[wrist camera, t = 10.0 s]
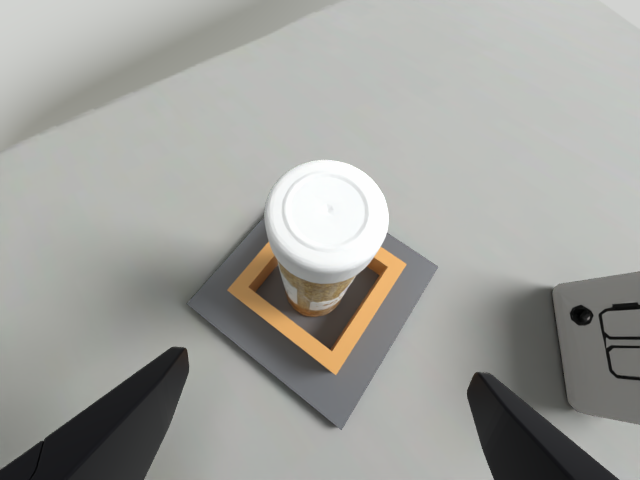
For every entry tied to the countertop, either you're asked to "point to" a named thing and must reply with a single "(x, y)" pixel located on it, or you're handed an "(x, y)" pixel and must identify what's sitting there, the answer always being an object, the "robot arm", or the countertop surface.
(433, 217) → the countertop surface
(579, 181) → the countertop surface
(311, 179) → the sprinkles bottle
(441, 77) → the countertop surface
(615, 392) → the electrical switch
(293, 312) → the socket
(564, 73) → the countertop surface
